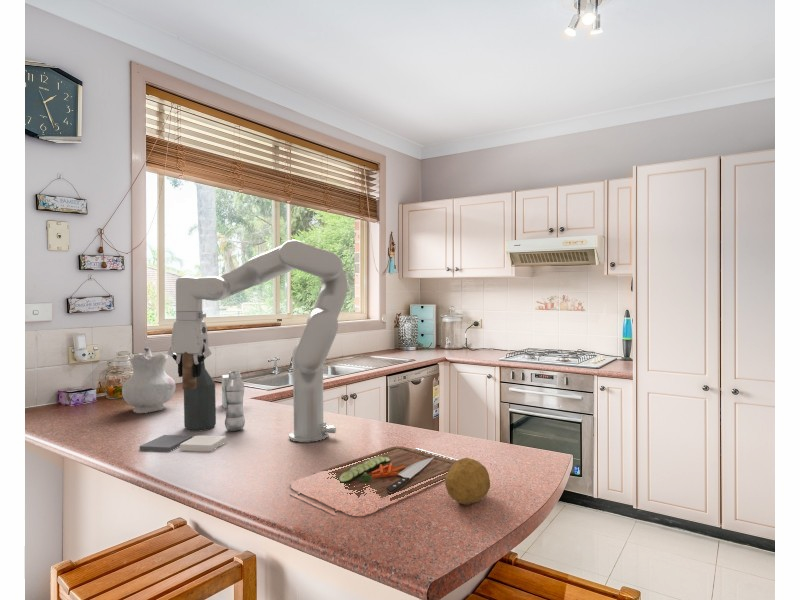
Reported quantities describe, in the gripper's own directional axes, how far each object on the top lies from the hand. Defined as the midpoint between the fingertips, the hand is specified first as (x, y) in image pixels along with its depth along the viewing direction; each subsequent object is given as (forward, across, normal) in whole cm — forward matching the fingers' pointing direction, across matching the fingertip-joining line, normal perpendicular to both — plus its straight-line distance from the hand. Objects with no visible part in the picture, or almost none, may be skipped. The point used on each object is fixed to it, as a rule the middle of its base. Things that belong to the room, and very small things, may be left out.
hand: (189, 375), depth 155 cm
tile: (+21, -10, 0) cm, 23 cm away
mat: (+22, +8, 0) cm, 23 cm away
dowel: (+4, 0, 0) cm, 4 cm away
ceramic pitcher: (+22, +44, -44) cm, 66 cm away
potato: (+21, -85, +31) cm, 93 cm away
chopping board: (+22, -64, +18) cm, 70 cm away
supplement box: (+22, +13, -53) cm, 59 cm away
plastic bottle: (+22, -6, -18) cm, 29 cm away
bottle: (+22, +8, -20) cm, 31 cm away
